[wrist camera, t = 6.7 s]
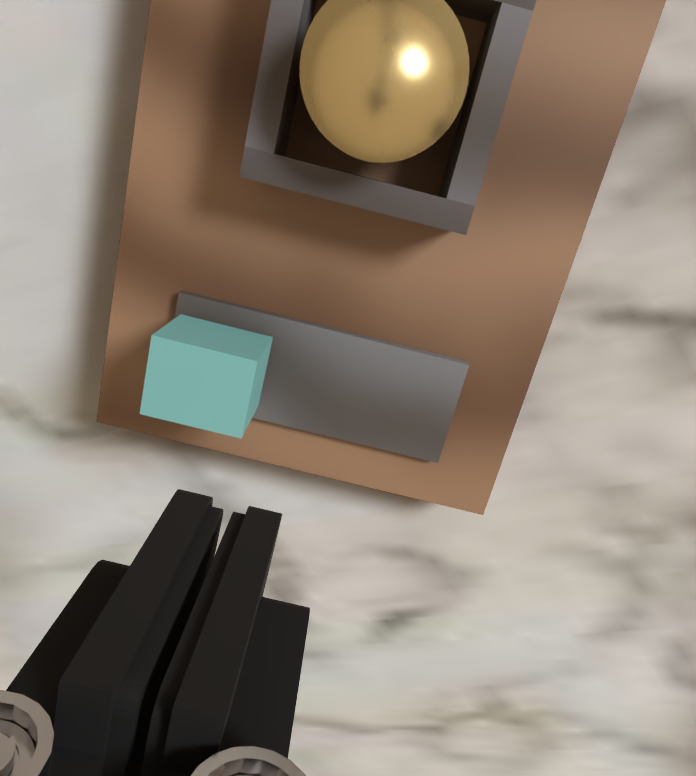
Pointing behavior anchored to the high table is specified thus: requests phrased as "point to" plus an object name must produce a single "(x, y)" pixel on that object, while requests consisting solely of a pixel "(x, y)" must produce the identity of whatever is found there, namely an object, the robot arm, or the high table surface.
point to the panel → (366, 235)
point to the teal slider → (205, 375)
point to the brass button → (384, 75)
